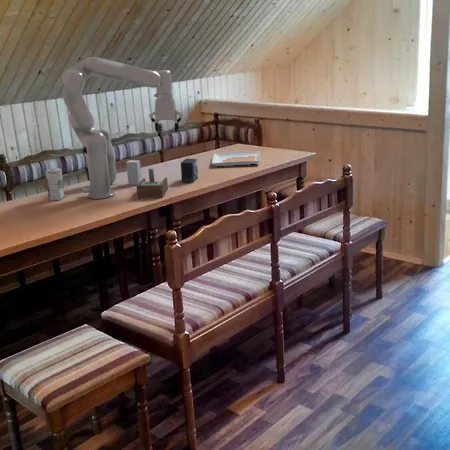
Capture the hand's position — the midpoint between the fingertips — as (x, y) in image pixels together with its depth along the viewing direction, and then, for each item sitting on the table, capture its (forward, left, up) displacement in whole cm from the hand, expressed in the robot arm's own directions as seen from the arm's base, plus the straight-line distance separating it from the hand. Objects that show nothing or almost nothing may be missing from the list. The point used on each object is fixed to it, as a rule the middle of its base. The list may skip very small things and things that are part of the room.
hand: (167, 131), depth 310 cm
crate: (-6, -21, -26) cm, 34 cm away
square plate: (+31, +48, -27) cm, 63 cm away
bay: (-6, -18, -27) cm, 33 cm away
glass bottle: (-34, +5, -27) cm, 44 cm away
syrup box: (-52, -22, -27) cm, 63 cm away
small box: (+9, +7, -27) cm, 29 cm away
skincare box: (-19, +3, -27) cm, 33 cm away
